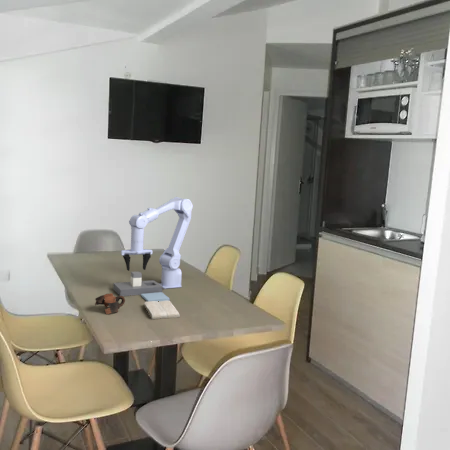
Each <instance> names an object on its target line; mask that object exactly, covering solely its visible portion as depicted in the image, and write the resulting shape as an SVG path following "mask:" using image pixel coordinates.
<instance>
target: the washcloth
mask: <svg viewBox="0 0 450 450" xmlns="http://www.w3.org/2000/svg"><path fill="white" fill-rule="evenodd" d="M143 305H144V309H145V308H146V310H147V311H148V313H149V314H148V313H147V314H148V316H149V315H150V316H151V318H150V320H151V319H152V320H159V319H160V318H161V319H176V318H180V317H181V316H180V313H179V311H178V310H177V308H176V307H175V306H174V304H173V303H172V301H159V302H158V301H149V302H147V301H145V302H144V304H143ZM146 310H145V311H146ZM147 311H146V312H147ZM150 316H149V317H150Z"/></svg>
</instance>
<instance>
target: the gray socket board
mask: <svg viewBox="0 0 450 450" xmlns="http://www.w3.org/2000/svg"><path fill="white" fill-rule="evenodd" d="M130 283H131V281H124V282H121V281H120V282H113V284H112V287H113V289H112V290H113V291H115V293H116V294H117V295H118V296H123V297H129V296H130V295H131V296H141V294H146V293H158V292H162V293H163V289H164V288H163V287H162V286H161V285H160V284H159V282H157V281H155V280H142V282H141V286H136V287H132V286H131V285H130Z"/></svg>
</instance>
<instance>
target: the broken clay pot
mask: <svg viewBox="0 0 450 450" xmlns="http://www.w3.org/2000/svg"><path fill="white" fill-rule="evenodd" d="M94 300H95V303H94V305H95V306H98V305H99V306H100V305H101V306H102V305H103V306H104V307H105V309H104V312H105V314H106V315H109V314H113V313H114V314H115V313H118V312H119V309H120V308H121V307H123V306H124V305H125V303H126V299H125V296H119V295H118V296H115V295H114V293H106V294H103V295H100V296H98V297H97V296H96V298H95V299H94ZM120 300H121V301H120ZM119 301H120V302H119Z"/></svg>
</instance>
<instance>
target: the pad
mask: <svg viewBox="0 0 450 450" xmlns="http://www.w3.org/2000/svg"><path fill="white" fill-rule="evenodd" d="M140 296H141V297H142V299H143V300H145V302H149V301H159V302H160V301H170V297H168V296H167V295H166V294H165V293H164V292H163V291H162V292H158V293H146V294H141V295H140ZM170 302H171V301H170Z"/></svg>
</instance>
